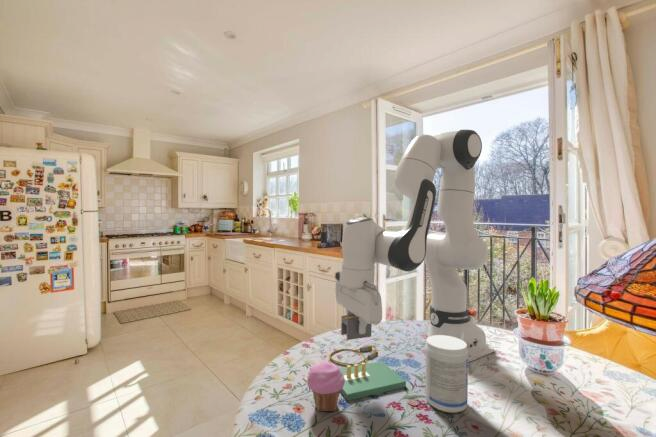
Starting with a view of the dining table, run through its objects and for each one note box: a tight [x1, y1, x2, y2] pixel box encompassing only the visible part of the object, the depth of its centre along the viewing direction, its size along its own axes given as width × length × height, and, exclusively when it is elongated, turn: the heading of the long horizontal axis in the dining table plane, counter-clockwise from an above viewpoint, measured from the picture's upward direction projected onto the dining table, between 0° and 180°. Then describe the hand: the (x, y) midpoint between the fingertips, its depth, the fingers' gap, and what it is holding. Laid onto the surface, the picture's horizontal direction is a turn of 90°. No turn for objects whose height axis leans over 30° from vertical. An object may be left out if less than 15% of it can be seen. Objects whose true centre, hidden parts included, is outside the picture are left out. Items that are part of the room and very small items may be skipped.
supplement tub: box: [424, 335, 469, 414], centre depth 76 cm, size 10×10×15 cm
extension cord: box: [329, 344, 379, 367], centre depth 100 cm, size 12×16×2 cm
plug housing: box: [340, 314, 373, 341], centre depth 85 cm, size 7×4×5 cm, turn 112°
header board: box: [340, 360, 407, 402], centre depth 85 cm, size 17×12×4 cm
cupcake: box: [306, 361, 345, 412], centre depth 74 cm, size 9×9×10 cm
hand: (356, 329), depth 85 cm, fingers closed on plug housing, 4 cm apart
